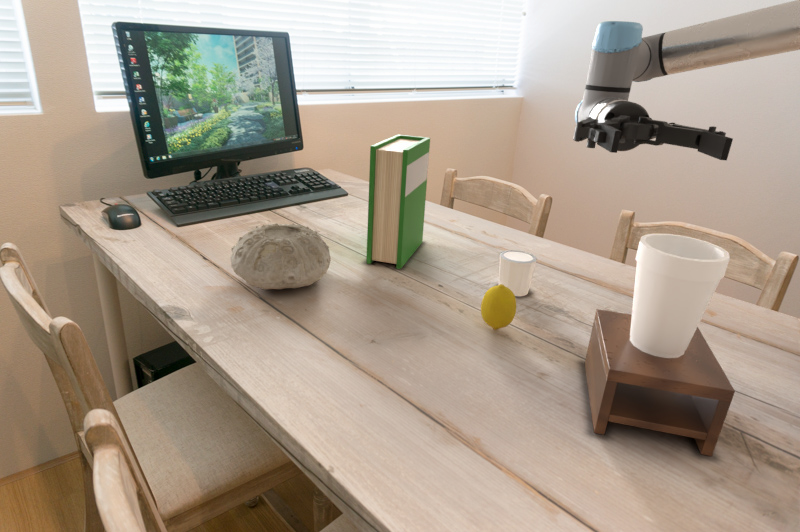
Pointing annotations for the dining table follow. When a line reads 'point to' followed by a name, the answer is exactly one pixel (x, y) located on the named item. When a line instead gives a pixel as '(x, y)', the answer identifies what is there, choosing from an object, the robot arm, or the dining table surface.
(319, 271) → the decorative shell
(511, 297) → the lemon
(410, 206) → the hardback book
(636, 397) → the shelf
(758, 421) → the dining table surface
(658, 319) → the foam cup
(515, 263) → the white jar candle
